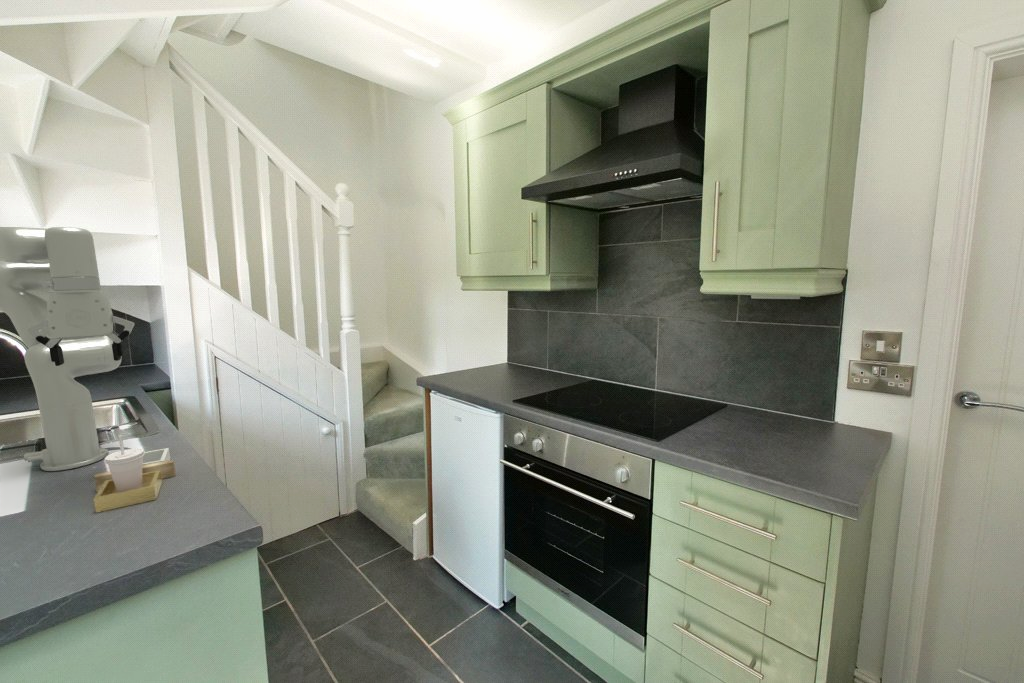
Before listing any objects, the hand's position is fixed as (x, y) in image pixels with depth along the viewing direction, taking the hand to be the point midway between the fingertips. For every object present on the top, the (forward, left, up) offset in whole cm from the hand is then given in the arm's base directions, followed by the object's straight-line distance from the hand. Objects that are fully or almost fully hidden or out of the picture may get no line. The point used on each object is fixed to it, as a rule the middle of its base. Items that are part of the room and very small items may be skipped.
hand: (89, 362), depth 100 cm
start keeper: (+6, +3, -28) cm, 29 cm away
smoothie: (+6, -13, -28) cm, 32 cm away
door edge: (+6, -5, -28) cm, 29 cm away
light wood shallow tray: (+6, -13, -28) cm, 32 cm away
